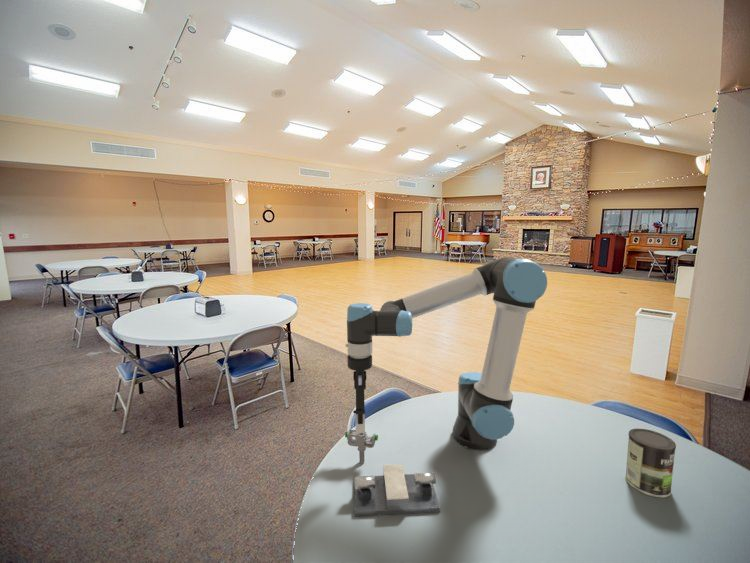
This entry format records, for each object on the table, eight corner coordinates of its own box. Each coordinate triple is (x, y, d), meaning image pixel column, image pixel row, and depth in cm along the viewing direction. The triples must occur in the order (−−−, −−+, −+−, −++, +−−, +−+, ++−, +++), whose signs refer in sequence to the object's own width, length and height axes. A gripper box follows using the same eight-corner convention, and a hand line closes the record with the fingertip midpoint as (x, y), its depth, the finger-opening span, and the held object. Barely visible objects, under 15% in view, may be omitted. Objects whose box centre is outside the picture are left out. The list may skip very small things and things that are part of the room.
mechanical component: (376, 467, 105) (376, 437, 104) (345, 463, 107) (344, 434, 106) (378, 461, 108) (378, 432, 107) (347, 457, 110) (347, 428, 109)
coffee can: (678, 489, 95) (683, 442, 93) (659, 503, 90) (664, 453, 88) (636, 468, 104) (640, 424, 102) (617, 479, 99) (621, 433, 97)
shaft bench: (429, 477, 101) (429, 458, 100) (440, 512, 88) (440, 490, 87) (355, 480, 100) (354, 461, 99) (354, 516, 87) (354, 494, 86)
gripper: (348, 342, 116) (349, 401, 118) (345, 370, 91) (346, 444, 94) (370, 341, 116) (370, 401, 119) (373, 369, 91) (374, 443, 94)
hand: (360, 420), depth 106 cm, fingers open, 13 cm apart
